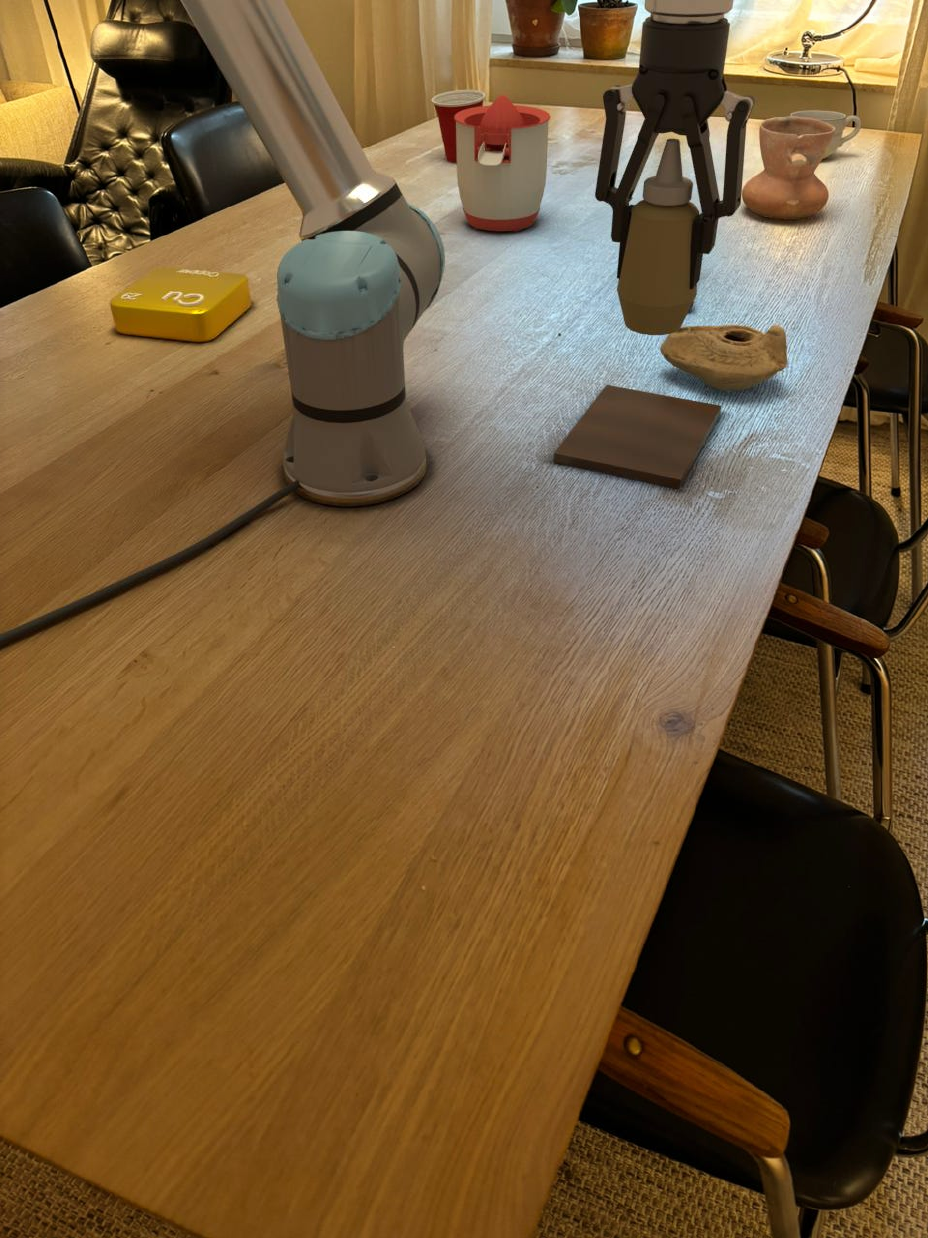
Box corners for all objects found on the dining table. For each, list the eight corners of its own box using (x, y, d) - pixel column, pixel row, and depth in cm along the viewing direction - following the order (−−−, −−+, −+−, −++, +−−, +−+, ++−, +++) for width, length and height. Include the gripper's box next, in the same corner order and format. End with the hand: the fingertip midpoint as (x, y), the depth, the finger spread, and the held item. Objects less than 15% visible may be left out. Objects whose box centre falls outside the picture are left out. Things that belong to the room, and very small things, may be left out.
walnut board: (679, 489, 103) (680, 479, 103) (553, 462, 108) (553, 452, 107) (720, 414, 116) (721, 405, 115) (605, 393, 121) (606, 384, 120)
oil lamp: (658, 359, 128) (665, 298, 123) (777, 366, 126) (790, 304, 121) (656, 397, 120) (663, 334, 115) (784, 405, 118) (797, 341, 113)
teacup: (781, 161, 199) (789, 117, 194) (784, 147, 207) (791, 105, 202) (854, 166, 196) (864, 121, 191) (854, 152, 204) (863, 109, 199)
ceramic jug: (830, 229, 166) (850, 138, 157) (742, 226, 168) (757, 136, 159) (817, 197, 180) (834, 111, 171) (735, 195, 182) (748, 110, 173)
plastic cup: (424, 156, 206) (422, 92, 198) (471, 149, 209) (471, 86, 201) (446, 169, 198) (444, 102, 190) (494, 162, 201) (495, 96, 194)
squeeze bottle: (617, 308, 107) (632, 127, 96) (692, 313, 106) (717, 130, 95) (610, 338, 101) (626, 149, 90) (690, 344, 100) (717, 153, 89)
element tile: (256, 303, 145) (251, 270, 141) (209, 344, 133) (203, 309, 130) (164, 293, 148) (157, 261, 145) (110, 333, 137) (102, 299, 134)
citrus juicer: (443, 237, 166) (440, 105, 153) (467, 206, 179) (466, 82, 166) (535, 243, 163) (539, 109, 150) (553, 211, 176) (558, 85, 163)
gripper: (566, 16, 87) (555, 278, 101) (792, 28, 80) (745, 306, 95) (594, 4, 92) (580, 254, 107) (808, 14, 86) (761, 280, 100)
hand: (657, 278), depth 101 cm, fingers closed on squeeze bottle, 6 cm apart
